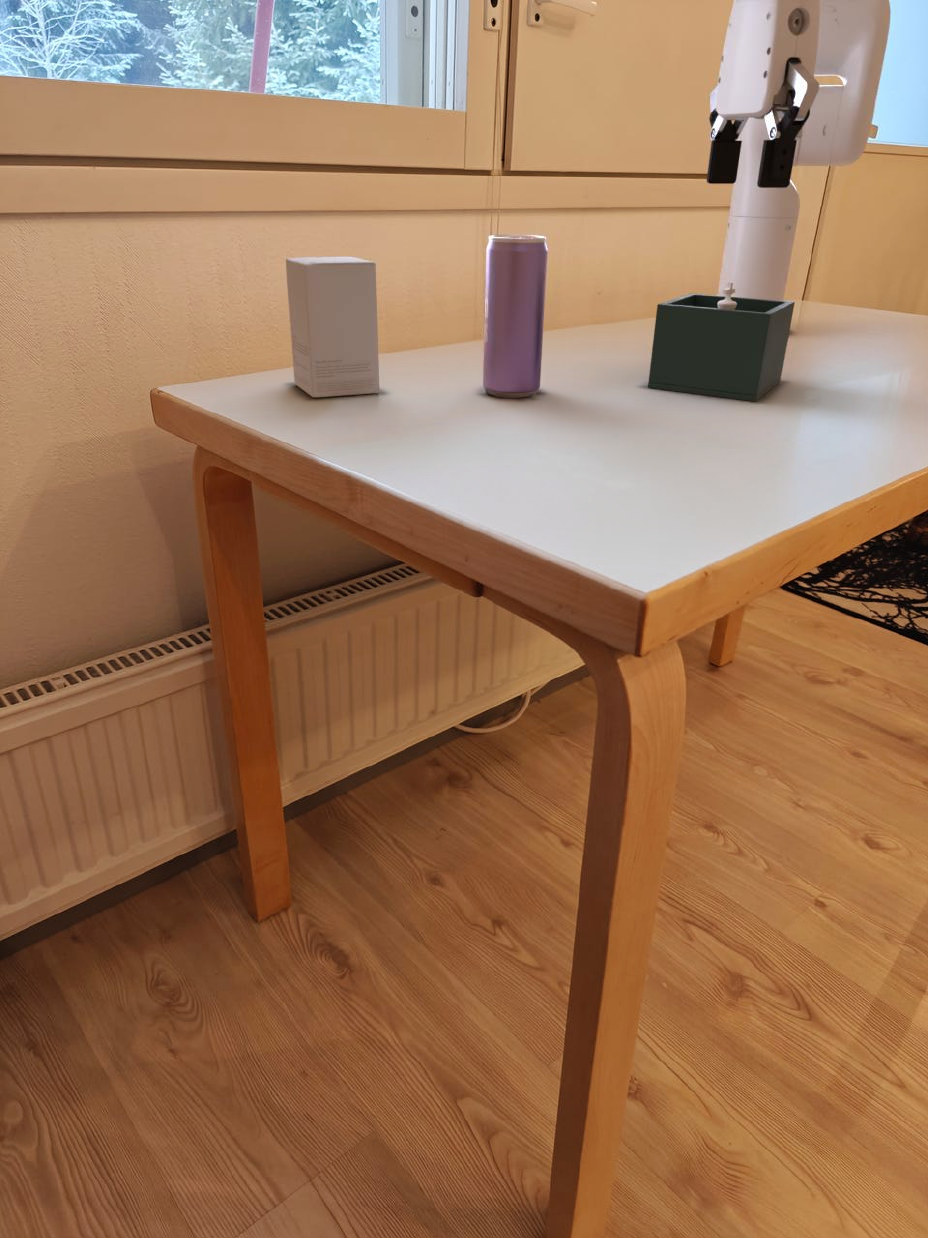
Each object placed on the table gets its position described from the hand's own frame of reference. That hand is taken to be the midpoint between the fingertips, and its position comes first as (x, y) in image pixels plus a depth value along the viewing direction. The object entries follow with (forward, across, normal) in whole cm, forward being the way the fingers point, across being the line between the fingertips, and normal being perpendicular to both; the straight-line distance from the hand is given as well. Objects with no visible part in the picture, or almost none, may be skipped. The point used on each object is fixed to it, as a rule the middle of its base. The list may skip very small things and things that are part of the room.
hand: (745, 185), depth 87 cm
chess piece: (+19, -1, +1) cm, 19 cm away
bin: (+20, -1, +1) cm, 20 cm away
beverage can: (+20, -1, +24) cm, 31 cm away
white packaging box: (+19, +4, +42) cm, 46 cm away
